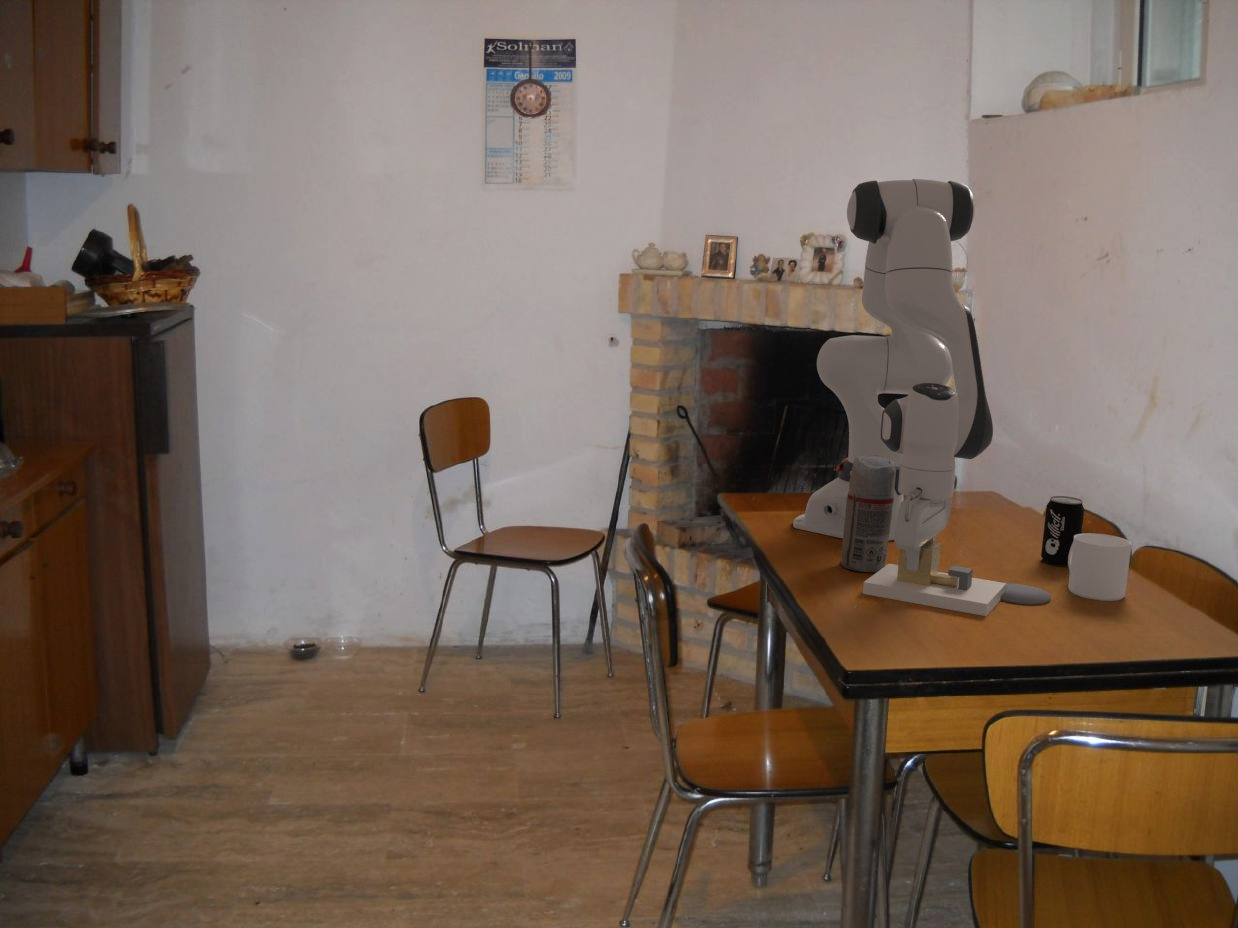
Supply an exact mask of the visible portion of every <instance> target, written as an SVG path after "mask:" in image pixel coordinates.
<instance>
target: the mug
mask: <svg viewBox="0 0 1238 928" xmlns="http://www.w3.org/2000/svg"><path fill="white" fill-rule="evenodd" d="M1131 550H1132V542H1131V541H1130V540H1128V539H1126V538H1123V537H1119V536H1116V535H1111V534H1103V533H1091V532H1087V533H1086V532H1085V533H1083V532H1082V534H1077V535H1075V536H1074V541H1073V543H1072V545H1071V548H1070V551H1069V556H1068V566H1067V567H1068V570H1069V578H1068V586H1067V587H1068V588H1067V589H1068V590H1069V592H1070V593H1072V594H1073V595H1076V596H1078V597H1082V598H1084V599H1089V600H1094V601H1103V602H1104V601H1105V602H1115V601H1120V600H1123V599H1124V597H1125V596H1126V593H1127V592H1126V591H1127V583H1128V575H1129V566H1130V560H1131V559H1130V558H1131Z"/></svg>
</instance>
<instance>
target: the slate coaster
mask: <svg viewBox="0 0 1238 928" xmlns="http://www.w3.org/2000/svg"><path fill="white" fill-rule="evenodd" d="M1005 583H1006V591H1005V592H1004V594H1003V595H1002V596H1001V600H1000V601H1002V602H1006V603H1012V604H1018V605H1027V606H1028V605H1032V606H1033V605H1034V606H1035V605H1036V606H1037V605H1044V604H1047V603H1049V602H1050V601H1051V596H1052V595H1051V594H1050V593H1049V592H1048V591H1046V590H1044V589H1042V588H1039V587H1035V586H1031V585H1025V584H1020V583H1010V582H1009V583H1007V582H1005Z"/></svg>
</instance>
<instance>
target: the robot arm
mask: <svg viewBox="0 0 1238 928" xmlns="http://www.w3.org/2000/svg"><path fill="white" fill-rule="evenodd" d="M975 211H976V209H975V201H974V195H973V192H972V190H971V189H970V188H969V186H968V185H967V184H964V183H962V182H957V181H953V180H948V181H947V182H946V181H940V180H933V179H923V178H921V179H920V178H912V179H896V180H886V181H877V180H870V181H869V180H868V181H864V182H862V183H861V182H860V183H858V184H857V185H856V186H855V188H854V189H853V190H852V192H851V195H850V198H849V199H848V201H847V208H846V218H847V222H848V225H849V229H850V232H851V233H852V234H853V235H854V236H855V237H856V238H857V239H860V240H862V241H865V242H868V245H867V249H866V256H865V263H864V273H863V274H864V275H863V282H862V283H863V284H862V293H861V303H862V306H863V309H864V310H865V312H866V313H867V314H868V315H869V316H871V317H872V318H874V319H875V320H877V321H879V322H880V323H882V324H885V326H887V327H888V328H889V329H890V330H891V334H890V335H885V336H878V335H877V336H875V335H856V334H852V335H845V336H838V337H832V338H831V337H830V338H829V339H828V340H826V341H825V342H824V343H823V345H822V346H821V348H820V349H819V352H818V354H817V357H816V358H817V359H816V370H817V373H818V375H819V378H820V380H821V382H822V383H823V384H824V386H826V387H827V388H828V389H830V390H831V391H832V392H833V393H834V394H835V396H836V397H837V398H838V400H839V401H840V402H841V404H842V406H843V409H844V411H845V413H846V416H847V421H848V432H849V433H848V457H846V458H844V459H843V460H841V462H839V463H838V465H836V466H835V467H836V468H835V471H836V472H837V476H838V477H836V478H834V479H833V480H832V481H830V482H829V483H827V484H825V485H824V486H822V487H820V488H819V489H818V490H816V491H815V492H813V494H811V495H810V497H809V499H808V501H807V503H806V508H805V512H804V513H802V514H800V515H798V516H797V517H795V518H794V519H793V521H792V522H793V523H792V526H793V528H795V529H798V530H802V531H807V532H810V533H811V532H812V533H817V534H819V535H820V534H821V535H825V536H830V537H835V538H839V539H843V532H844V523H845V511H846V501H847V496H848V492H849V484H850V476H851V471H852V467H853V463H854V460H855V457H858V456H859V457H861V456H869V455H874V454H875V455H879V456H882V457H884V458H885V459H886V460H891V461H894V463H895V464H896V466H895V467H896V475H895V486H894V501H893V509H892V520H891V525H890V533H889V541H893V542H894V547H895V548H897V549H899V550H900V549H905V551H906V556H907V569H908V570H912V571H916V570H918V569H919V568H920V559H919V551H920V550H921V546H922V545H923V544H925V543H926V542H927V541H929V542H935V541H936V535H938V534H939V533H940V532H943V530H944V529H946V527H947V524H948V522H949V518H950V514H951V509H952V501H953V496H954V491H955V490H956V488H957V486H958V476H957V475H956V462H955V458H956V459H965V460H973V459H974V458H975V459H976V457H978V456H979V455H981V454H982V453H983V452H984V451H986V449H987V448H988V447H989V446H991V443H992V442H993V437H994V436H993V435H994V424H993V418H992V414H991V409H990V407H989V406H990V405H989V403H988V398H987V394H986V388H985V387H986V386H985V382H984V377H983V374H984V373H983V368H982V363H981V362H982V361H981V355H980V349H979V343H978V342H979V341H978V337H977V331H976V327H975V321H974V317H973V314H972V312H971V310H970V308H969V307H968V306H966V305H965V304H963V303H962V302H961V300H960V299H959V297H958V295H957V293H956V290H955V286H954V282H953V281H954V280H953V251H952V242H954V241H958V240H961V239H962V238H964V237H965V235H967V234H968V233H969V231H970V229H971V226H972V224H973V221H974V218H975ZM952 374H953V378H954V379H953V380H954V386H955V389H953V388H952V387H950V386H948V383H949V382H950V379H951V377H952ZM880 394H893V395H894V394H897V395H907V396H904V397H902V398H895V399H894V400H892V401H891V402H890V403H889V404H888V405H887V406H886V407H885V408H884V407H883V406H881V404H880V403H879V399H878V398H879V395H880ZM904 496H905V497H904Z"/></svg>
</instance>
